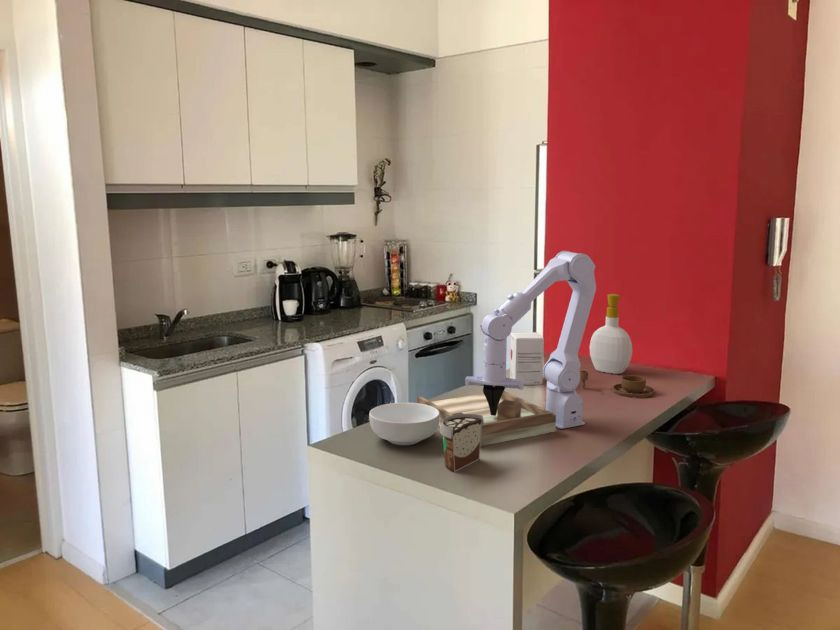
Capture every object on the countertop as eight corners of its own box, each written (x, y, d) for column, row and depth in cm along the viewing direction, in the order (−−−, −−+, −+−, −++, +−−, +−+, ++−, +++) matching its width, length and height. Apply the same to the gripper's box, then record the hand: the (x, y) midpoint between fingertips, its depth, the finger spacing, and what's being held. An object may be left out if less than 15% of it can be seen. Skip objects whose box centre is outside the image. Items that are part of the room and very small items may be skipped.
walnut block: (520, 419, 174) (521, 402, 173) (514, 424, 170) (514, 406, 169) (503, 416, 176) (504, 399, 175) (497, 421, 172) (497, 404, 171)
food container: (461, 451, 160) (461, 409, 158) (483, 457, 156) (484, 414, 154) (427, 467, 150) (427, 423, 148) (450, 474, 146) (450, 429, 145)
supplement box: (509, 377, 223) (510, 332, 220) (536, 377, 223) (538, 331, 221) (514, 385, 214) (515, 337, 211) (543, 384, 214) (544, 337, 212)
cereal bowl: (451, 435, 170) (452, 408, 169) (417, 457, 156) (417, 427, 154) (393, 423, 178) (393, 397, 177) (355, 443, 164) (355, 415, 163)
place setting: (637, 404, 196) (638, 384, 195) (575, 390, 210) (576, 372, 209) (664, 392, 209) (665, 373, 208) (604, 379, 222) (605, 361, 221)
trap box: (555, 431, 172) (556, 412, 172) (472, 447, 162) (473, 427, 161) (492, 400, 198) (492, 383, 197) (417, 412, 187) (417, 394, 186)
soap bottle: (635, 372, 230) (640, 294, 225) (625, 377, 223) (630, 298, 218) (595, 365, 238) (598, 290, 234) (584, 370, 231) (587, 293, 227)
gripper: (525, 360, 175) (524, 411, 177) (469, 356, 178) (468, 407, 181) (522, 367, 168) (520, 420, 170) (463, 363, 172) (463, 415, 174)
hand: (493, 414), depth 175 cm, fingers closed
